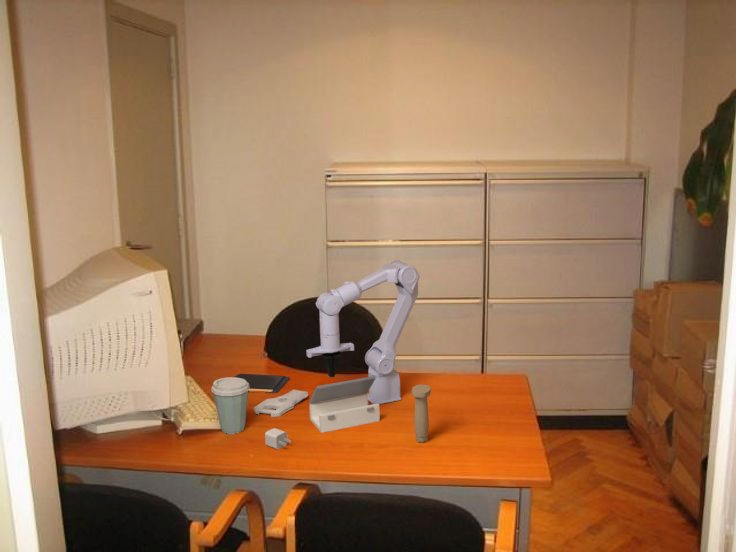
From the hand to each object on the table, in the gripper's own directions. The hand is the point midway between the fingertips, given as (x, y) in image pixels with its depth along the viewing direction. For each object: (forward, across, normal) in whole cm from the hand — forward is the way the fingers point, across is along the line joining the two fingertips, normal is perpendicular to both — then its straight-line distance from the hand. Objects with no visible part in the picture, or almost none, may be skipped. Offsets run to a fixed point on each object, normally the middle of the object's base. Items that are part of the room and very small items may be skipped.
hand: (331, 376), depth 216 cm
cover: (+2, 0, +9) cm, 9 cm away
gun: (+11, +14, -9) cm, 20 cm away
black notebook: (+11, +16, -31) cm, 37 cm away
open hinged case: (+10, 0, +10) cm, 14 cm away
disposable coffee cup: (+11, +31, +2) cm, 33 cm away
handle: (+11, -14, +32) cm, 37 cm away
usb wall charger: (+11, +22, +18) cm, 30 cm away
